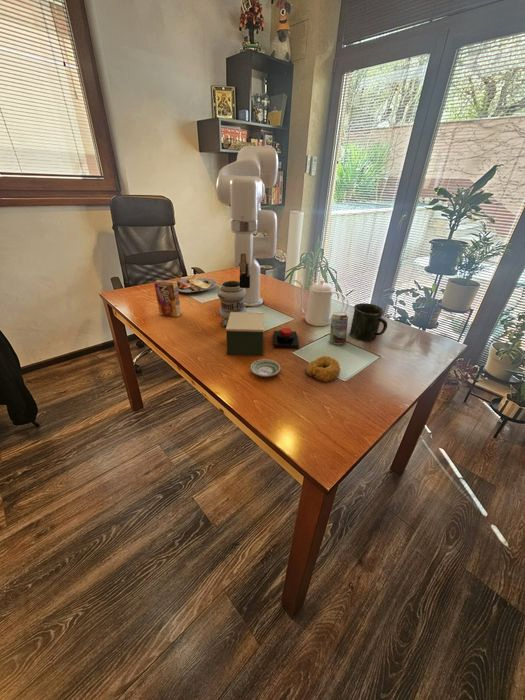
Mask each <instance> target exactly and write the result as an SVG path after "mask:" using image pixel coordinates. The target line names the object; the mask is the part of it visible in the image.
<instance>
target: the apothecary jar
mask: <svg viewBox="0 0 525 700" xmlns="http://www.w3.org/2000/svg"><path fill="white" fill-rule="evenodd" d="M216 293H217V297H218V298H219V299H220V307H219V309H218V313H217V314H218V316H219V317H220V318H221V319H222V322H221V326H222V328H225V329H226V327H227V323H228V320H229V316H230V312H248V310H247V307H246V306H244V298H245V296H246V290H245V289H244V288H240V280H226V281H222V283H221V284H220V288H218V290H217V292H216Z"/></svg>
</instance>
